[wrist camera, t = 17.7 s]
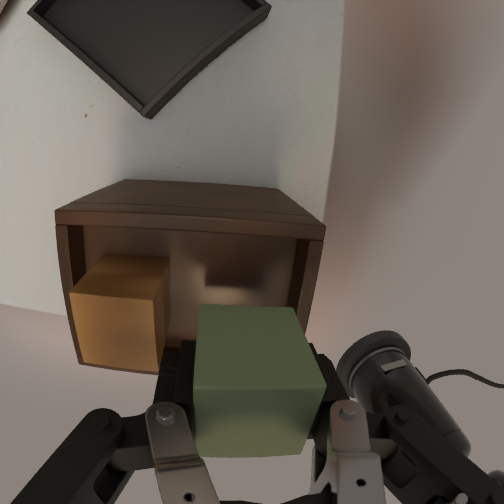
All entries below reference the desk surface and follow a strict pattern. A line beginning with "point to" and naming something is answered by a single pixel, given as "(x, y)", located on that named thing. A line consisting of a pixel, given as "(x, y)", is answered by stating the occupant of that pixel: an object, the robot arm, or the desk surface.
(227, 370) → the sage block
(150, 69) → the tray
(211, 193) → the stand
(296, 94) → the desk surface
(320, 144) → the desk surface
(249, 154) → the desk surface
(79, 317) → the oak block
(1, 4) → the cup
